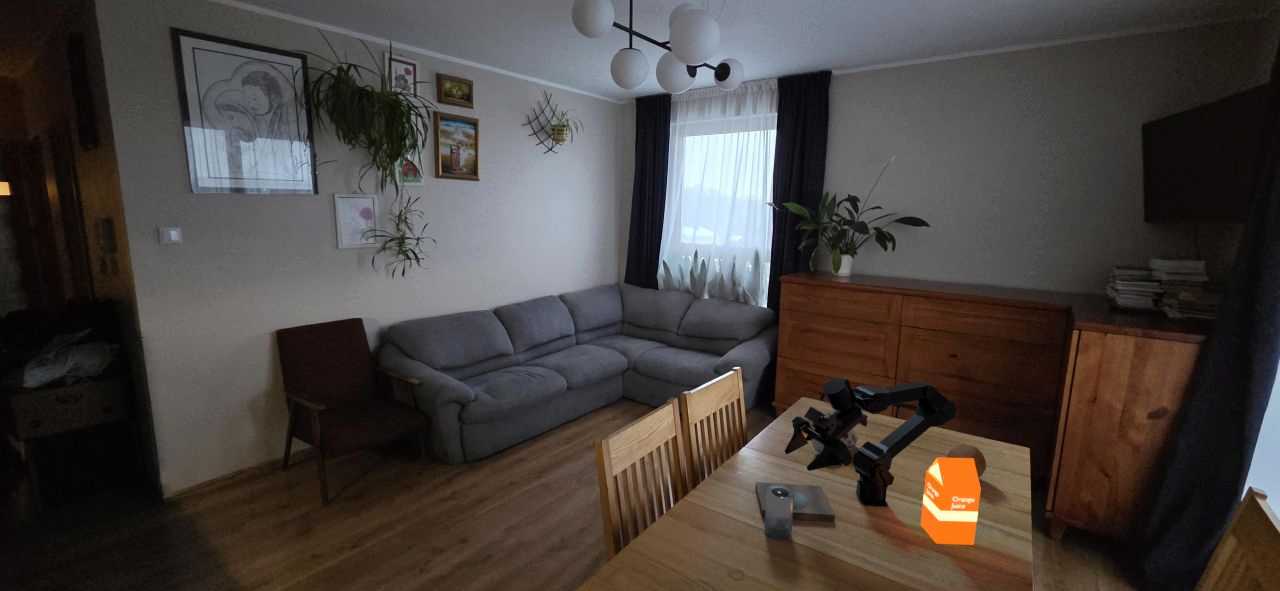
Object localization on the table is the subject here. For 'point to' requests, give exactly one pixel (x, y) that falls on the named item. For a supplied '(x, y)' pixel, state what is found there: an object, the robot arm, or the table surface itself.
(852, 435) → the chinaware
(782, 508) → the silver metal cylinder
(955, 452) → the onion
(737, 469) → the table surface
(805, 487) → the walnut board
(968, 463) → the orange juice
